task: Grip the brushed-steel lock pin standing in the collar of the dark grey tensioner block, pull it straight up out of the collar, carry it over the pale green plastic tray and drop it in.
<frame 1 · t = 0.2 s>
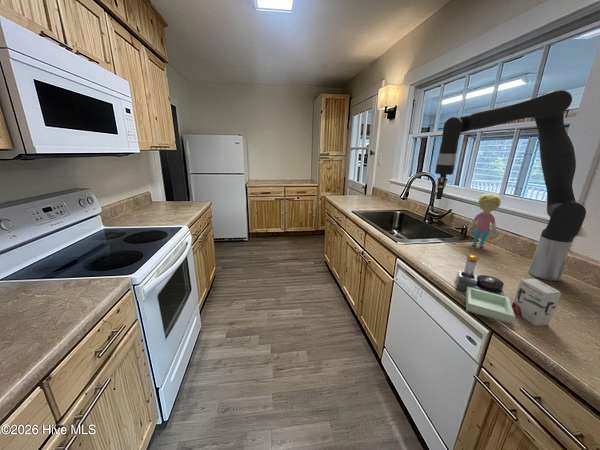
hand: (439, 197, 118), 29 cm above the worktop, fingers open, 8 cm apart
toy: (477, 247, 136), on the worktop
lock pin: (466, 279, 94), point 3 cm above the worktop, touching tensioner block
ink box: (528, 317, 79), on the worktop
tray: (486, 307, 83), on the worktop
tensioner block: (477, 289, 93), on the worktop
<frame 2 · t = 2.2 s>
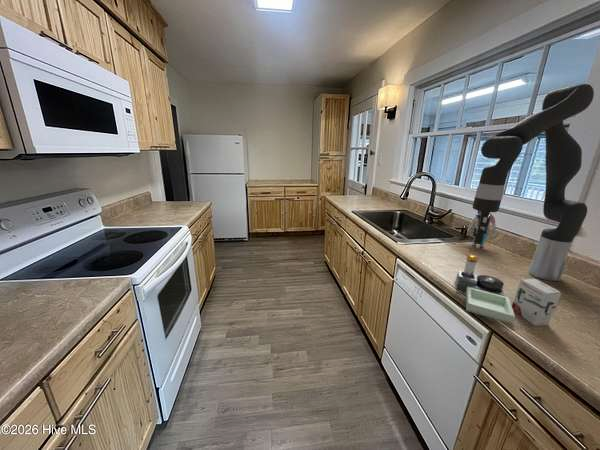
hand: (476, 240, 89), 20 cm above the worktop, fingers open, 8 cm apart
nothing on the worktop moved.
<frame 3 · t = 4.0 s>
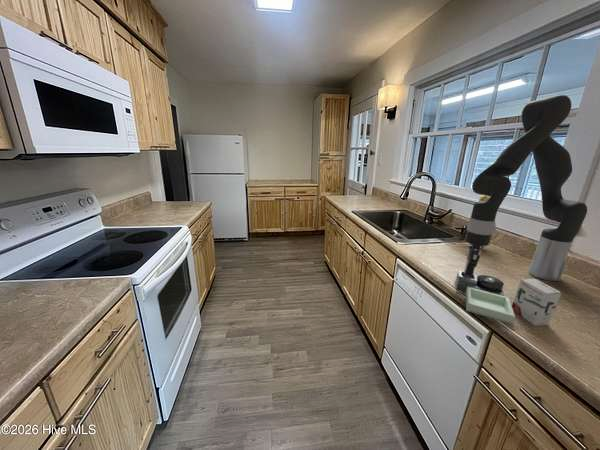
hand: (468, 272, 93), 6 cm above the worktop, fingers closed on lock pin, 3 cm apart
lock pin: (466, 279, 94), point 3 cm above the worktop, touching gripper, tensioner block
everything else where it was.
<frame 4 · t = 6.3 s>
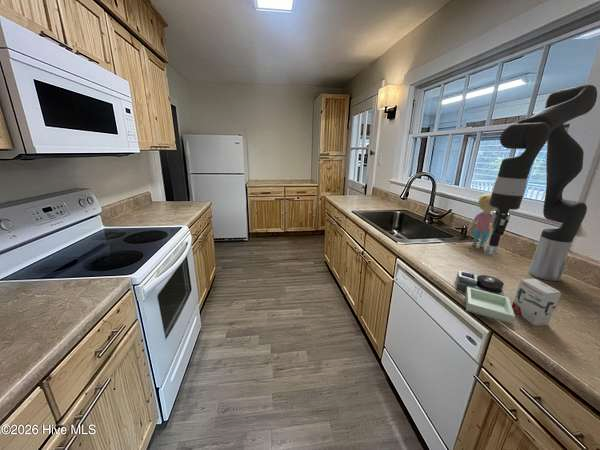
hand: (492, 243, 80), 22 cm above the worktop, fingers closed on lock pin, 3 cm apart
lock pin: (489, 252, 81), point 19 cm above the worktop, touching gripper
everything else where it was.
when the fingers open (6 cm above the worktop, at t = 8.6 s): lock pin drops 2 cm, resting on tray.
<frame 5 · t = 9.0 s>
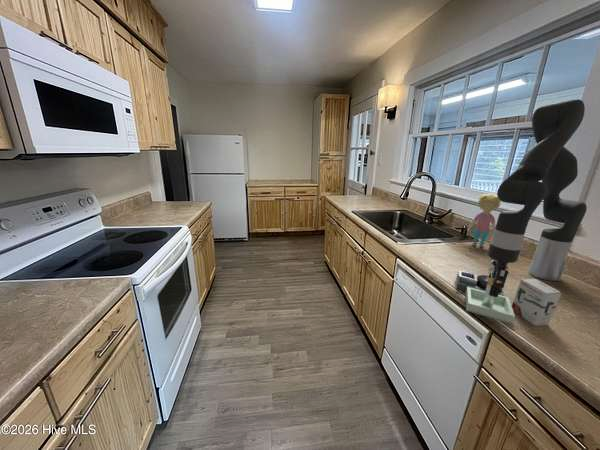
hand: (491, 290, 81), 7 cm above the worktop, fingers open, 7 cm apart
lock pin: (486, 305, 83), point 1 cm above the worktop, touching tray
everything else where it was.
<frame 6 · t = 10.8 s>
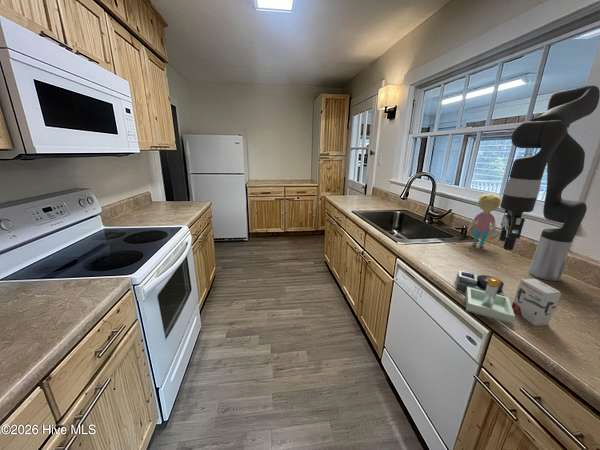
hand: (505, 244, 76), 23 cm above the worktop, fingers open, 8 cm apart
nothing on the worktop moved.
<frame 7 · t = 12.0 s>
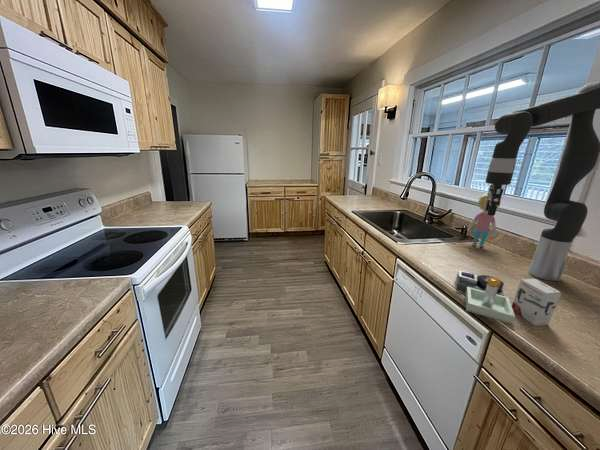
hand: (489, 212, 95), 28 cm above the worktop, fingers open, 8 cm apart
nothing on the worktop moved.
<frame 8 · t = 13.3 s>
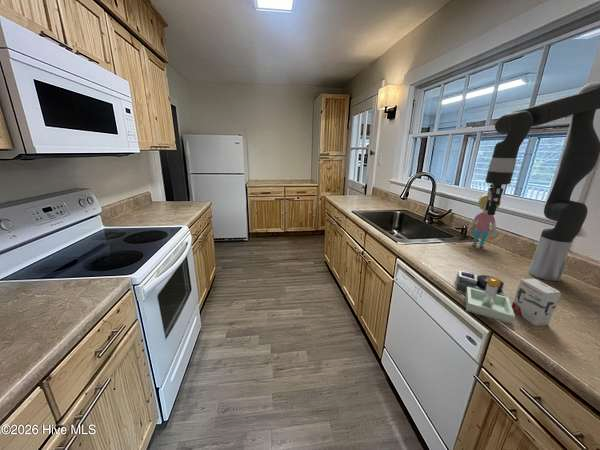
hand: (489, 212, 95), 28 cm above the worktop, fingers open, 8 cm apart
nothing on the worktop moved.
at the end: lock pin inside the target area on the tray (0.1 cm from its centre), point 0.6 cm above the tray's base; the gripper is holding nothing; lock pin touching tray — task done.
